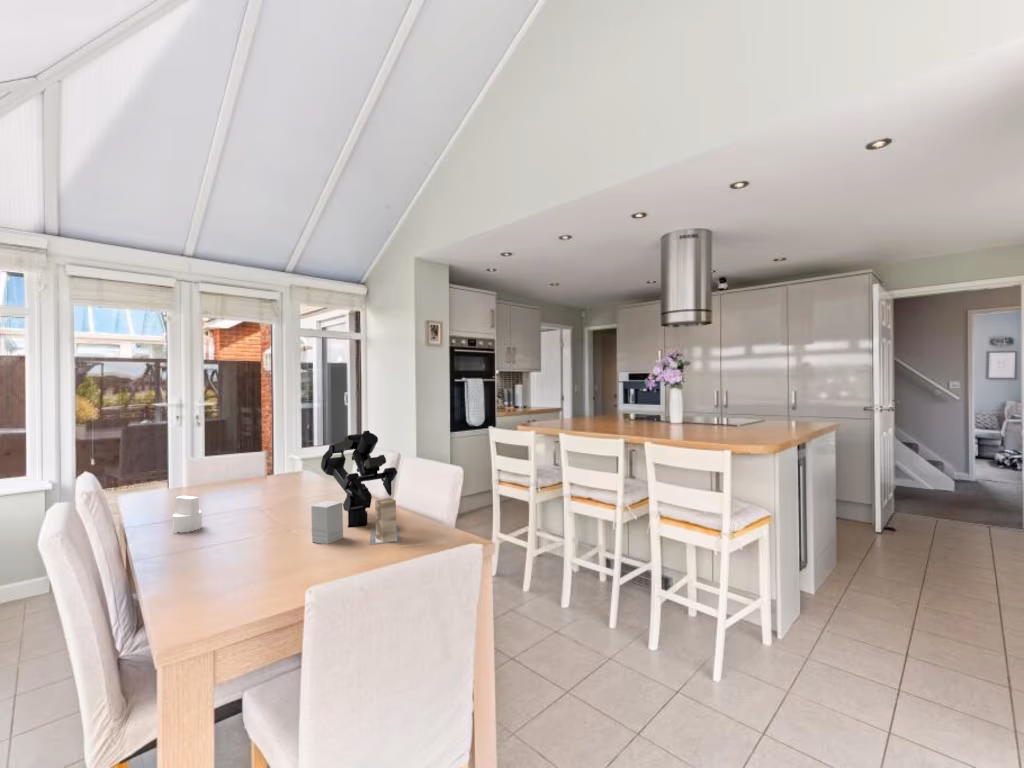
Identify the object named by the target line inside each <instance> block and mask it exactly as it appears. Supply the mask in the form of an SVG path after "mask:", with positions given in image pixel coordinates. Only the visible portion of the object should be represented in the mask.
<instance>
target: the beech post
mask: <svg viewBox="0 0 1024 768" xmlns="http://www.w3.org/2000/svg"><path fill="white" fill-rule="evenodd" d="M374 501H375V502H374V503H375V504H374V505H375V527H376V539H378V540H380V541H382V542H384V541H388V540H391V539H395V538H396V525H397V508H396V507H397V505H396V504H397V503H396V502H397V501H396V499H392V498H390V497H385V498H381V499H376V500H374Z"/></svg>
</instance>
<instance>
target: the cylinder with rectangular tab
mask: <svg viewBox="0 0 1024 768" xmlns="http://www.w3.org/2000/svg"><path fill="white" fill-rule="evenodd" d="M199 499H200V498H199V496H190V495H179V496H176V497H175V513H173V514H172V532H173V531H174V532H187V533H190V532H189V531H193V532H195V531H194V530H196V531H198V530H197V529H199V530H201V529H202V528H201V527H203V521H202V520H203V519H202V518H203V515H202V514H203V513H202V511H203V510H201V509H200V505H199V504H200V503H199V502H200V501H199ZM200 528H201V529H200ZM174 532H173V533H174Z"/></svg>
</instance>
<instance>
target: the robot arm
mask: <svg viewBox="0 0 1024 768" xmlns="http://www.w3.org/2000/svg"><path fill="white" fill-rule="evenodd" d="M378 442H379V438H378V436H377V435H376V434H375V433H372V432H370V430H363V431H362V433H356V434H347V435H346V436H345V437H343V440H341V441H337V442H334V443H331V444H329V447H328V449H327V451H326V452H324V454H323V455H322V458H321V462H320V468H321V471H323V473H324V474H326V475H327V476H331V477H333V478H334V479H335V480H336V481H337V484H338V485H340V487H341V489H342V490H343V491H344V492H345V493H346V497H345V500H344V502H342V509H343V510H344V511H345V512H347V521H348V522H347V523H348V524H347V528H358V527H359V528H360V527H366V526H367V524H368V522H369V521H368V520H369V518H368V511H367V509H371V505H372V498H373V496H372V494H371V492H370V490H369V487H367V486H366V484H365V483H363V482H369V481H375V480H381V482H383V483H382V486H383V487H384V489H385V491H386V493H387V494H388V496H389V497H391V496H392V482H393V481H394V480H395V478H396V476H397V474H398V470H397V468H396V467H394V466H392V467H386V468H384V470H383V471H382V472H379V471H380V470H381V469H380V467H382V466H383V465H385V464H386V463H387V458H386V456H385V454H380V455H379V456H375V457H371V454H372V453H373V451H374V449H375V448H376V446H377V443H378ZM346 451H352V456H351V461H354V462H355V465H356V467H357V468H356V471H357V472H354V473H353V472H352V473H348V471H347V470H346V469H345V463H346V460H347V458H346V457H345V454H344V453H345V452H346ZM334 454H341V455H340V456H336V457H335V456H334V457H332V456H333V455H334Z"/></svg>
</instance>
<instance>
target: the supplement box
mask: <svg viewBox="0 0 1024 768" xmlns="http://www.w3.org/2000/svg"><path fill="white" fill-rule="evenodd" d="M310 507H311V509H310V510H311V542H312V543H314V542H315V543H316V544H320V545H322V544H326V545H328V544H331V543H334V542H336V541H338V540H341V539H343V538H344V526H343V525H344V520H343V517H344V516H343V515H344V514H343V502H342V501H331V500H325V501H321V502H319V503H315V504H312V505H311V506H310Z"/></svg>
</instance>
